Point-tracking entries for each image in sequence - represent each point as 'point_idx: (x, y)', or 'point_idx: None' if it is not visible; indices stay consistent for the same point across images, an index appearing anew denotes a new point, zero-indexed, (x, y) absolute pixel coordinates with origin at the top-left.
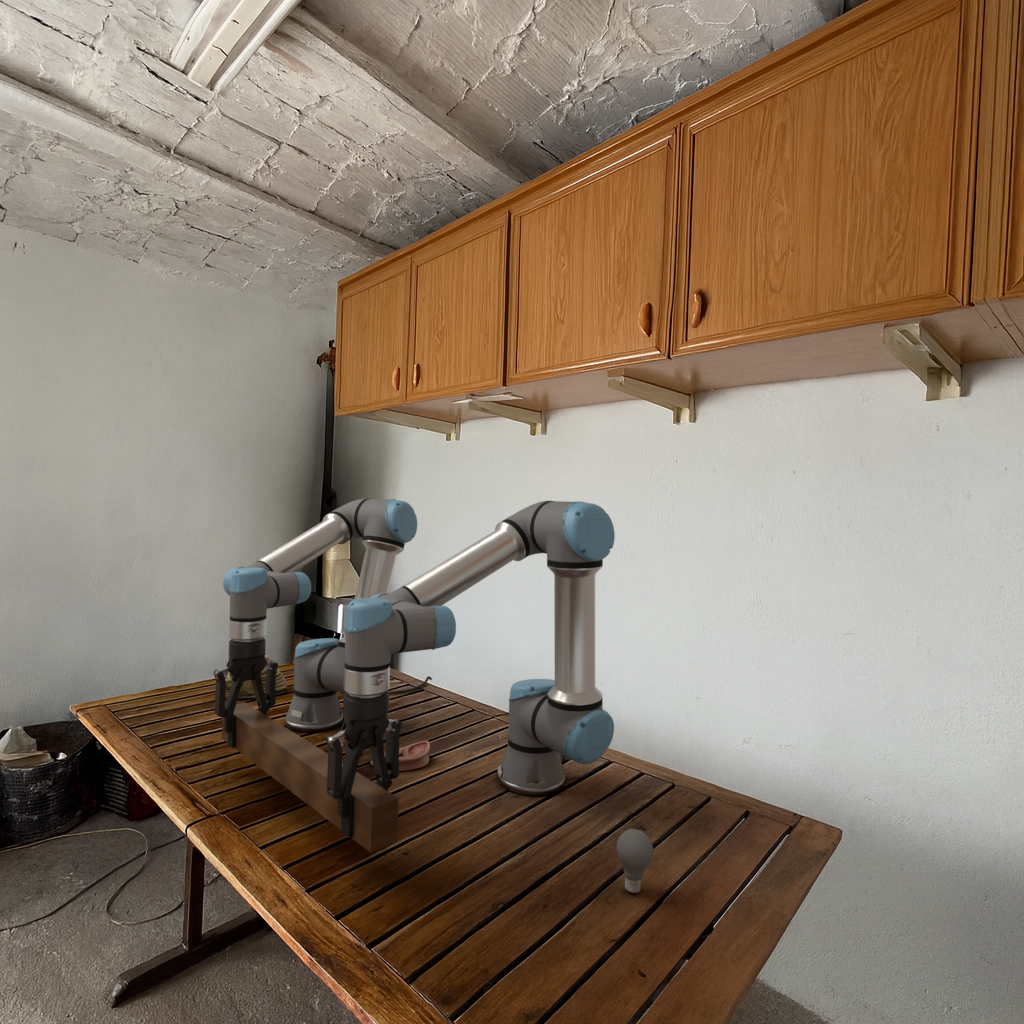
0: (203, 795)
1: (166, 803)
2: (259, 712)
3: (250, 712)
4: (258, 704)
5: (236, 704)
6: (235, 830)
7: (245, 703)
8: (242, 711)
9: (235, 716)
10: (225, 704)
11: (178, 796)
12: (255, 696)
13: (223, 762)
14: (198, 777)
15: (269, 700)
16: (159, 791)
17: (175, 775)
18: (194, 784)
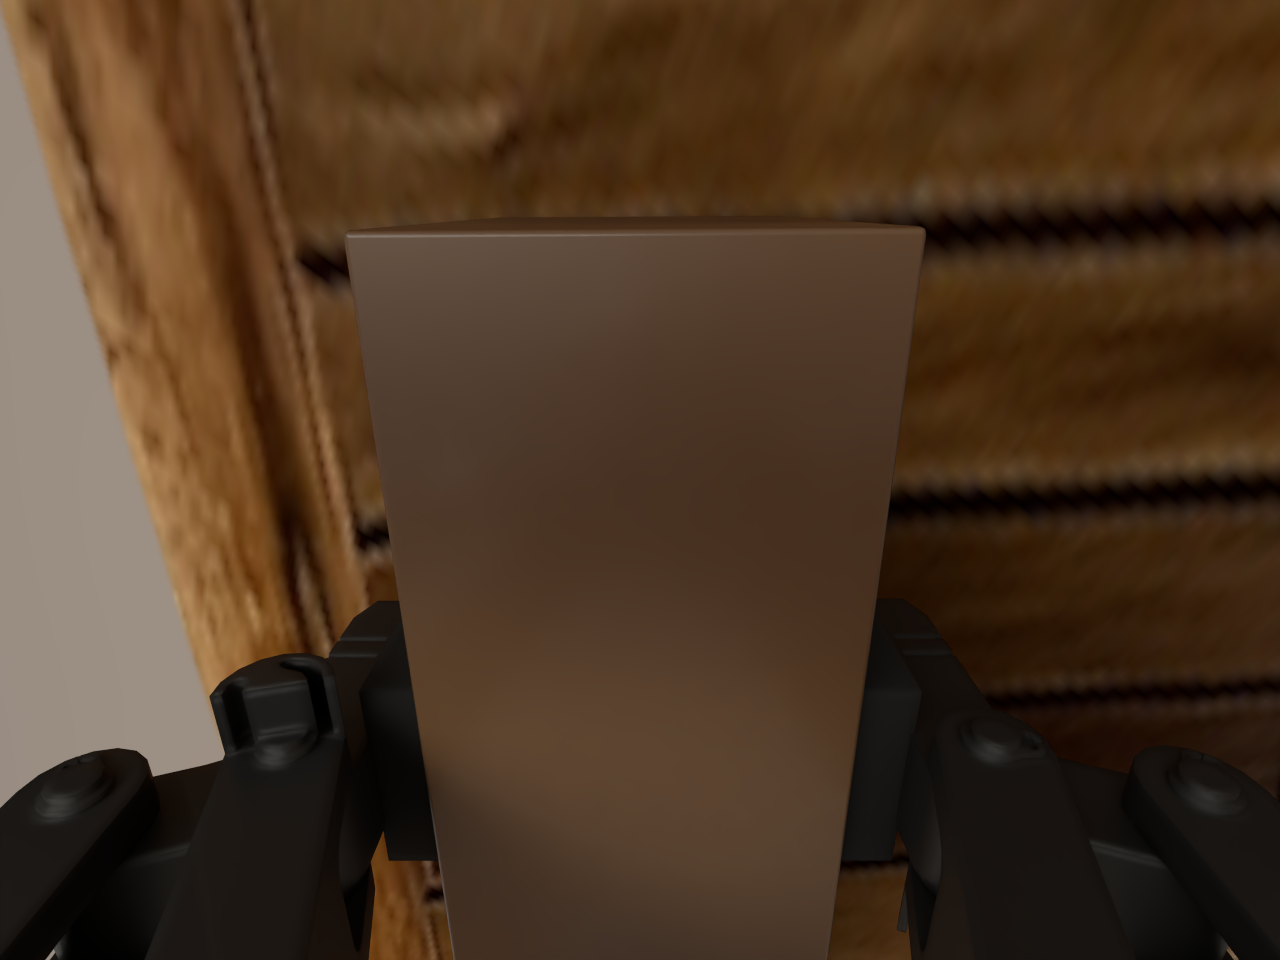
0: (355, 504)
1: (141, 474)
2: (807, 919)
3: (696, 851)
4: (942, 803)
5: (683, 271)
6: (407, 892)
7: (882, 334)
8: (606, 747)
9: (438, 840)
10: (170, 898)
11: (215, 426)
12: (971, 955)
13: (630, 16)
14: (382, 203)
15: (1166, 932)
16: (102, 270)
17: (228, 33)
18: (334, 310)
